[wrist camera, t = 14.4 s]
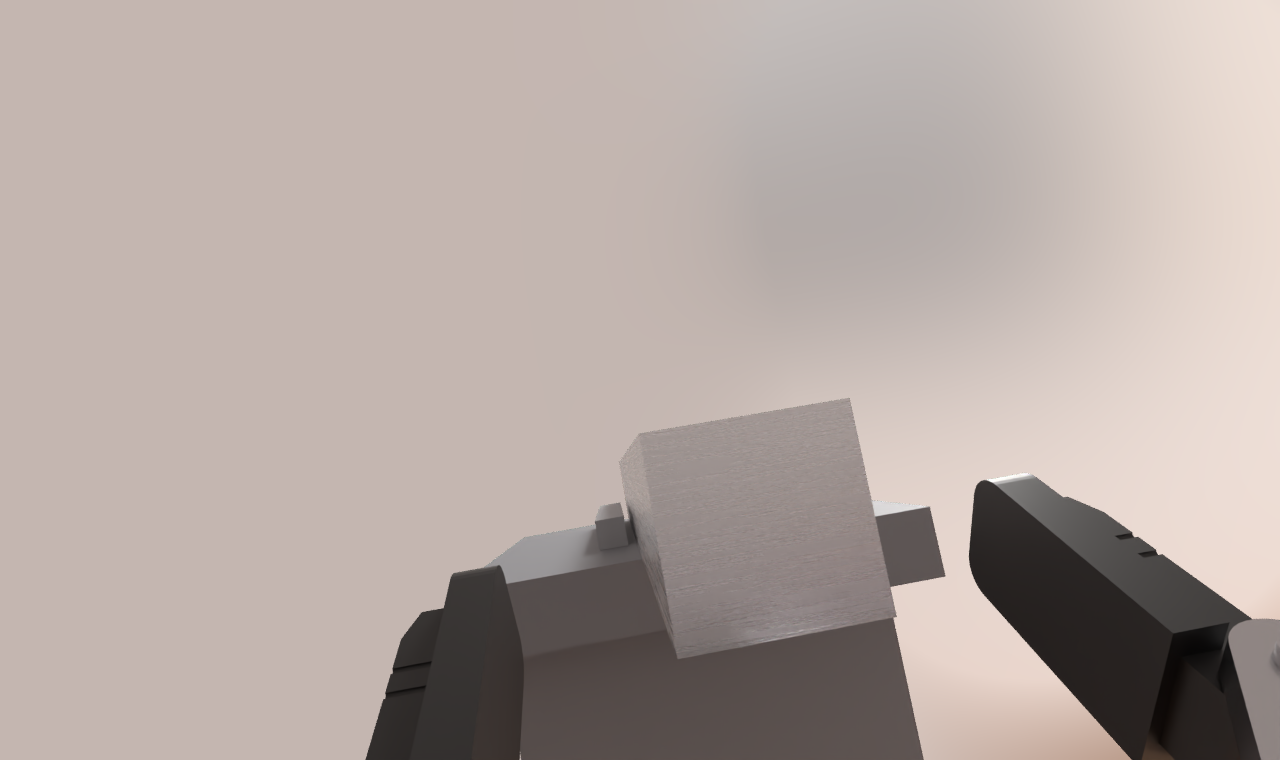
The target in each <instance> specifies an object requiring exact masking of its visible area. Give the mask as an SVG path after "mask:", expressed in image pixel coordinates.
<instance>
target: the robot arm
mask: <svg viewBox="0 0 1280 760" xmlns="http://www.w3.org/2000/svg"><path fill="white" fill-rule="evenodd" d="M969 561H970V568H971V571H972V574H973V577H974V579H975V582H976V584H977V586H978V587H979V589H980V590H981V592H982V593H983V594H984V595H985V596H986V597H987V599H988V600H989V601H990V602H991V603H992V604H993V605H994V607H995V608H996V609H997V610H998V611H999V612H1000V613H1001V614H1002V616H1003V617H1004V618H1005V619H1006V620H1007V621H1008V622H1009V623H1010V624H1011V626H1012V627H1013V628H1014V629H1015V630H1016V631H1017V632H1018V633H1019V634H1020V636H1021V637H1022V638H1023V639H1024V640H1025V641H1026V642H1027V643H1028V644H1029V646H1030V647H1031V648H1032V649H1033V650H1034V651H1035V652H1036V653H1037V654H1038V656H1039V657H1040V658H1041V659H1042V660H1043V661H1044V662H1045V663H1046V665H1047V666H1049V668H1050V669H1051V670H1052V671H1053V672H1054V674H1055V675H1057V677H1058V678H1059V679H1060V680H1061V681H1062V682H1063V683H1064V685H1065V686H1066V687H1067V688H1068V689H1069V690H1070V691H1071V692H1072V694H1073V695H1074V696H1075V697H1076V698H1077V699H1078V700H1079V701H1080V703H1081V704H1082V705H1083V706H1084V707H1085V708H1086V709H1087V710H1088V711H1089V713H1090V714H1091V715H1092V716H1093V717H1094V718H1095V719H1096V720H1097V721H1098V723H1099V724H1100V725H1101V726H1102V727H1103V728H1104V729H1105V730H1106V731H1107V733H1108V734H1109V735H1110V736H1111V737H1112V738H1113V739H1114V740H1115V742H1116V743H1117V744H1118V745H1119V746H1120V747H1121V748H1122V749H1123V750H1124V752H1125V753H1126V754H1127V755H1128V756H1129V757H1130V758H1131V759H1132V760H1280V620H1275V619H1251V618H1250V617H1249V616H1247V615H1246V614H1244V613H1243V612H1242V611H1240V610H1239V609H1237V608H1236V607H1235V606H1233V605H1232V604H1230V603H1229V602H1228V601H1226V600H1225V599H1224V598H1222V597H1221V596H1219V595H1218V594H1217V593H1215V592H1214V591H1213V590H1211V589H1210V588H1208V587H1207V586H1206V585H1204V584H1203V583H1201V582H1200V581H1199V580H1197V579H1196V578H1194V577H1193V576H1192V575H1190V574H1189V573H1188V572H1186V571H1185V570H1183V569H1182V568H1180V567H1179V566H1178V565H1176V564H1175V563H1174V562H1172V561H1171V560H1170V559H1168V558H1166V557H1165V556H1164V555H1163V554H1162V555H1158V554H1157V552H1156V549H1154V548H1153V547H1151V546H1150V545H1149V544H1147V543H1146V542H1145V541H1143V540H1142V539H1140V538H1139V537H1133V535H1132V532H1131V531H1129V530H1128V529H1126V528H1125V527H1124V526H1122V525H1121V524H1120V523H1118V522H1117V521H1115V520H1114V519H1113V518H1111V517H1109V516H1108V515H1107V514H1106V513H1104V512H1102V511H1100V510H1098V509H1095V508H1092V507H1090V506H1088V505H1086V504H1083V503H1081V502H1079V501H1076V500H1074V499H1072V498H1069V497H1064V498H1063V497H1062V496H1061V495H1059V494H1058V493H1057V492H1055V491H1054V490H1053V489H1051V488H1050V487H1049V486H1047V485H1046V484H1045V483H1043V482H1042V481H1041V480H1039V479H1038V478H1037V477H1035V476H1033V475H1031V474H1029V473H1023V474H1016V475H1011V476H1005V477H1000V478H995V479H988V480H983V481H981V482H979V483H978V484H977V486H976V489H975V493H974V503H973V514H972V526H971V537H970V550H969ZM523 688H524V662H523V652H522V645H521V639H520V635H519V631H518V627H517V623H516V619H515V615H514V611H513V607H512V604H511V600H510V596H509V592H508V588H507V584H506V580H505V576H504V573H503V570H502V568H501V566H500V565H497V566H491V567H486V568H481V569H475V570H469V571H464V572H458V573H454V574H453V575H452V577H451V579H450V584H449V588H448V592H447V597H446V601H445V605H444V608H443V609H437V610H431V611H426V612H422V613H421V614H420V615H419V617H418V618H417V619H416V621H415V622H414V623H413V624H412V626H411V627H410V628H409V630H408V631H407V632H406V634H405V635H404V637H403V638H402V639H401V642H400V645H399V648H398V652H397V655H396V658H395V662H394V665H393V674H391V675H390V679H389V682H388V686H387V689H386V693H385V694H386V699H384V700H383V703H382V706H381V709H380V713H379V716H378V720H377V723H376V726H375V729H374V733H373V736H372V740H371V743H370V746H369V750H368V753H367V757H366V760H519V759H520V741H521V723H522V706H523Z"/></svg>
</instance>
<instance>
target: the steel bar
mask: <svg viewBox="0 0 1280 760" xmlns="http://www.w3.org/2000/svg"><path fill="white" fill-rule="evenodd" d="M619 463H620V469H621V476H622V481H623V488H624V494H625V500H626V506H627V512H628V518H629V522H630V525H631V528H632V531H633V533H634V536H635V539H636V542H637V545H638V548H639V551H640V553H641V556H642V559H643V562H644V565H645V568H646V571H647V573H648V576H649V579H650V582H651V585H652V588H653V590H654V593H655V596H656V599H657V602H658V605H659V608H660V610H661V613H662V616H663V619H664V622H665V625H666V628H667V630H668V633H669V636H670V639H671V642H672V645H673V648H674V650H675V653H676V656H677V659H682V658H687V657H692V656H697V655H702V654H707V653H713V652H718V651H723V650H728V649H733V648H738V647H744V646H749V645H754V644H759V643H764V642H769V641H775V640H780V639H785V638H790V637H795V636H801V635H806V634H811V633H816V632H821V631H826V630H832V629H837V628H842V627H847V626H852V625H857V624H863V623H868V622H873V621H878V620H883V619H888V618H894V617H897V616H896V611H895V607H894V602H893V598H892V593H891V589H890V584H889V579H888V574H887V570H886V565H885V560H884V556H883V551H882V546H881V542H880V537H879V532H878V528H877V523H876V519H875V514H874V509H873V505H872V500H871V496H870V491H869V486H868V481H867V477H866V472H865V467H864V463H863V458H862V454H861V449H860V444H859V440H858V435H857V431H856V426H855V421H854V417H853V412H852V407H851V403H850V398H847V399H840V400H835V401H829V402H823V403H817V404H811V405H805V406H799V407H793V408H787V409H781V410H776V411H770V412H764V413H758V414H752V415H747V416H740V417H734V418H729V419H723V420H717V421H711V422H705V423H700V424H693V425H688V426H682V427H675V428H670V429H664V430H658V431H652V432H647V433H640V434H638V436H637V437H636V439H635V440H634V442H633V443H632V444H631V446H630V447H629V449H628V450H627V452H626V453H625V454H624V456H623V457H622V459H621V460H620V462H619Z"/></svg>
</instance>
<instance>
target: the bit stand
mask: <svg viewBox="0 0 1280 760" xmlns="http://www.w3.org/2000/svg"><path fill="white" fill-rule="evenodd" d="M872 505H873V509H874V514H875V519H876V523H877V528H878V532H879V537H880V542H881V546H882V551H883V556H884V560H885V565H886V570H887V574H888V579H889V584H890V587H892V586H897V585H902V584H907V583H913V582H918V581H923V580H929V579H934V578H939V577H945V573H944V568H943V564H942V559H941V555H940V550H939V546H938V541H937V537H936V533H935V528H934V524H933V519H932V516H931V511H930V507H928V506H919V505H910V504H901V503H892V502H882V501H873V500H872ZM595 524H596V525H591V526H586V527H580V528H575V529H569V530H564V531H558V532H552V533H547V534H541V535H535V536H530V537H524V538H523V539H521V540H520V541H519V542H517V543H516V544H515V545H514V546H512V547H511V548H509V549H508V550H507V551H505V552H504V553H503V554H501V555H500V556H499V557H497V558H496V559H495V560H493V561H492V562H491V563H489V564H488V565H486V566H485V567H484V568H486V567H491V566H497V565H500V566H501V568H502V570H503V573H504V576H505V580H506V584H507V588H508V592H509V596H510V600H511V604H512V607H513V611H514V615H515V619H516V623H517V627H518V631H519V635H520V639H521V645H522V652H523V662H524V688H523V706H522V723H521V741H520V754H521V760H924V759H923V755H922V750H921V745H920V740H919V736H918V731H917V726H916V722H915V718H914V713H913V708H912V703H911V699H910V694H909V689H908V685H907V681H906V676H905V671H904V666H903V662H902V657H901V652H900V647H899V643H898V638H897V633H896V629H895V624H894V620H893V618H888V619H883V620H878V621H873V622H868V623H863V624H857V625H852V626H847V627H842V628H837V629H832V630H826V631H821V632H816V633H811V634H806V635H801V636H795V637H790V638H785V639H780V640H775V641H769V642H764V643H759V644H754V645H749V646H744V647H738V648H733V649H728V650H723V651H718V652H713V653H707V654H702V655H697V656H692V657H687V658H682V659H677V656H676V653H675V650H674V648H673V645H672V642H671V639H670V636H669V633H668V630H667V628H666V625H665V622H664V619H663V616H662V613H661V610H660V608H659V605H658V602H657V599H656V596H655V593H654V590H653V588H652V585H651V582H650V579H649V576H648V573H647V571H646V568H645V565H644V562H643V559H642V556H641V553H640V551H639V548H638V545H637V542H636V539H635V536H634V533H633V531H632V528H631V525H630V522H629V519H625V520H624V515H623V512H622V508H621V504H620V503H616V504H609V505H604V506H600V508H599V511H598V514H597V517H596V520H595Z"/></svg>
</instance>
